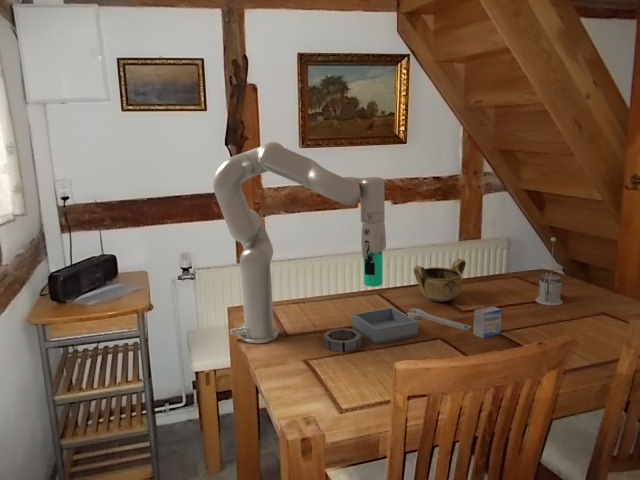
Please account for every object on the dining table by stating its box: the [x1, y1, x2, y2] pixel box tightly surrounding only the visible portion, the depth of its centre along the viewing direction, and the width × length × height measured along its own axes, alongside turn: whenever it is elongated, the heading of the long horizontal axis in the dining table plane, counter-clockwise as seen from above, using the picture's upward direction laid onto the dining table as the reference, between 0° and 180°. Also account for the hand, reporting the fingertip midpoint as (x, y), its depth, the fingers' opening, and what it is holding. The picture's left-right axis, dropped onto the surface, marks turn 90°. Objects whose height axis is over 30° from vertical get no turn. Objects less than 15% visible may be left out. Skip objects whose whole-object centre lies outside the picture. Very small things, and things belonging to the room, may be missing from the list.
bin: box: [351, 306, 419, 345], centre depth 188 cm, size 16×16×5 cm
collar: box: [322, 327, 363, 353], centre depth 179 cm, size 12×12×3 cm
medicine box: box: [473, 305, 502, 340], centre depth 184 cm, size 8×4×9 cm, turn 118°
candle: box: [363, 251, 383, 288], centre depth 180 cm, size 6×6×12 cm
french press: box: [534, 237, 564, 306], centre depth 212 cm, size 10×12×25 cm
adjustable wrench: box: [406, 308, 472, 332], centre depth 196 cm, size 25×6×2 cm, turn 41°
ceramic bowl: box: [413, 258, 467, 303], centre depth 218 cm, size 22×17×15 cm
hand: (373, 271), depth 181 cm, fingers closed on candle, 5 cm apart
